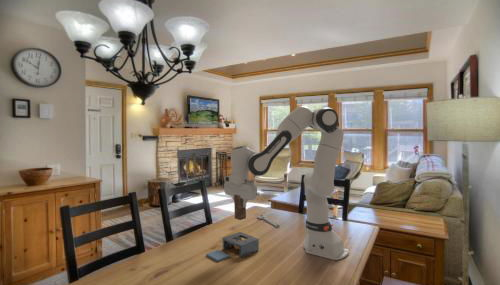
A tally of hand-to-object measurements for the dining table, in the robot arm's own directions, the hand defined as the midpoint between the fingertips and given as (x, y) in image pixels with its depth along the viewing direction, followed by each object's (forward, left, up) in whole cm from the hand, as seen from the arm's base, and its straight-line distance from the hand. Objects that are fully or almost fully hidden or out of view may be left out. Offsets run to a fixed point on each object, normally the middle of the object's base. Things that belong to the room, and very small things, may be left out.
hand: (240, 206), depth 142 cm
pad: (+3, +12, -23) cm, 26 cm away
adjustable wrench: (+21, -44, -23) cm, 54 cm away
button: (+1, -1, -21) cm, 21 cm away
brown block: (0, 0, -6) cm, 6 cm away
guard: (+1, -1, -23) cm, 23 cm away
